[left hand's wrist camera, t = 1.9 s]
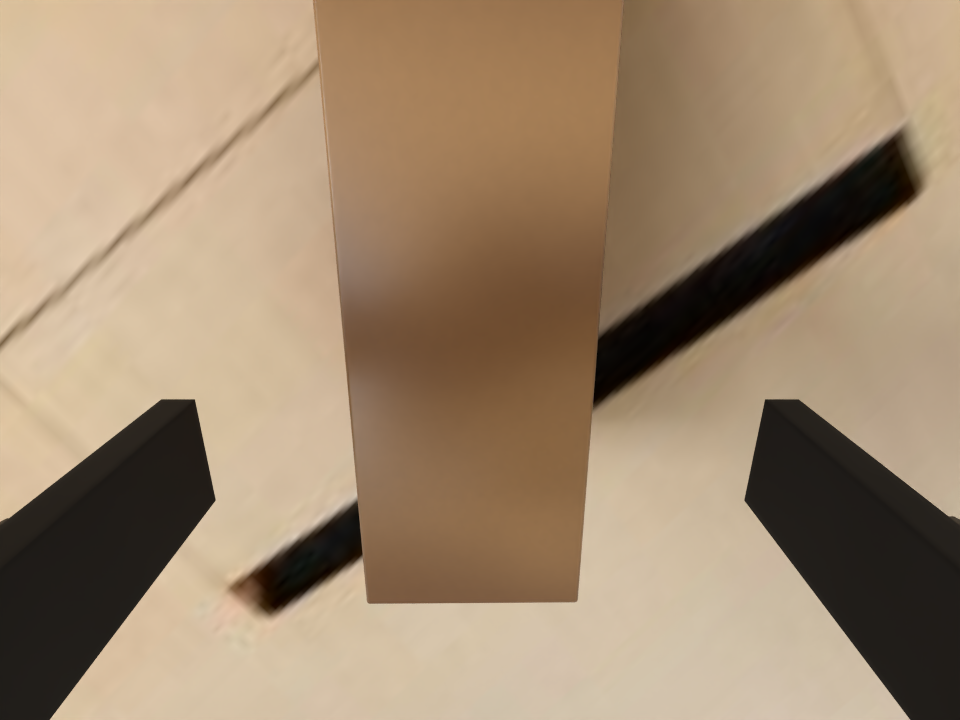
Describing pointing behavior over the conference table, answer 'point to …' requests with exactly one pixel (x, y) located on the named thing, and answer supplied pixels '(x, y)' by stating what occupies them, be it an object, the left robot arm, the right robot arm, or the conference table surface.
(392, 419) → the bar
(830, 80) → the conference table surface
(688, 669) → the conference table surface
